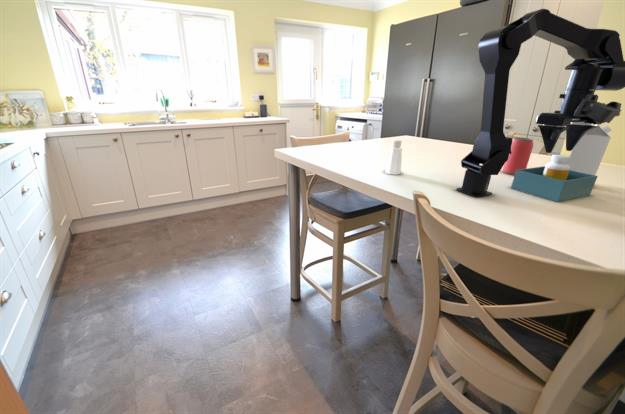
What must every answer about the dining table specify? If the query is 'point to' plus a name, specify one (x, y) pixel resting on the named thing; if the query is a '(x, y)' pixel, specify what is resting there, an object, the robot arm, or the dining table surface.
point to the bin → (553, 184)
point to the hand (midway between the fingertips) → (558, 151)
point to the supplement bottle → (558, 167)
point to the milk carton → (590, 150)
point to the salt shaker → (394, 158)
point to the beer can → (518, 155)
